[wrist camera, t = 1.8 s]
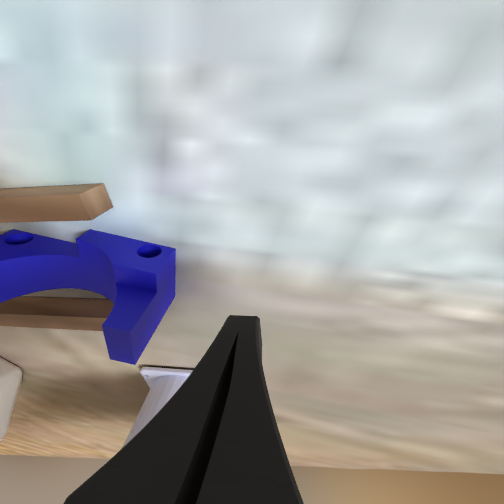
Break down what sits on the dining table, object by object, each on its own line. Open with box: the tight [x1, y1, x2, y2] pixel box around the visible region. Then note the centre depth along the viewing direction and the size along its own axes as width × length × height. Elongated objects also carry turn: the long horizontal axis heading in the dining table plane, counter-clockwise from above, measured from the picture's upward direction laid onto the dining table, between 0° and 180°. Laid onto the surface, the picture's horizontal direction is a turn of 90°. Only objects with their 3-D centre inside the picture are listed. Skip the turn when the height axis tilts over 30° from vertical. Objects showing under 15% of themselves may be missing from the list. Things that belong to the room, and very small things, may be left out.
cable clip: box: [0, 229, 176, 365], centre depth 15 cm, size 12×4×6 cm, turn 79°
